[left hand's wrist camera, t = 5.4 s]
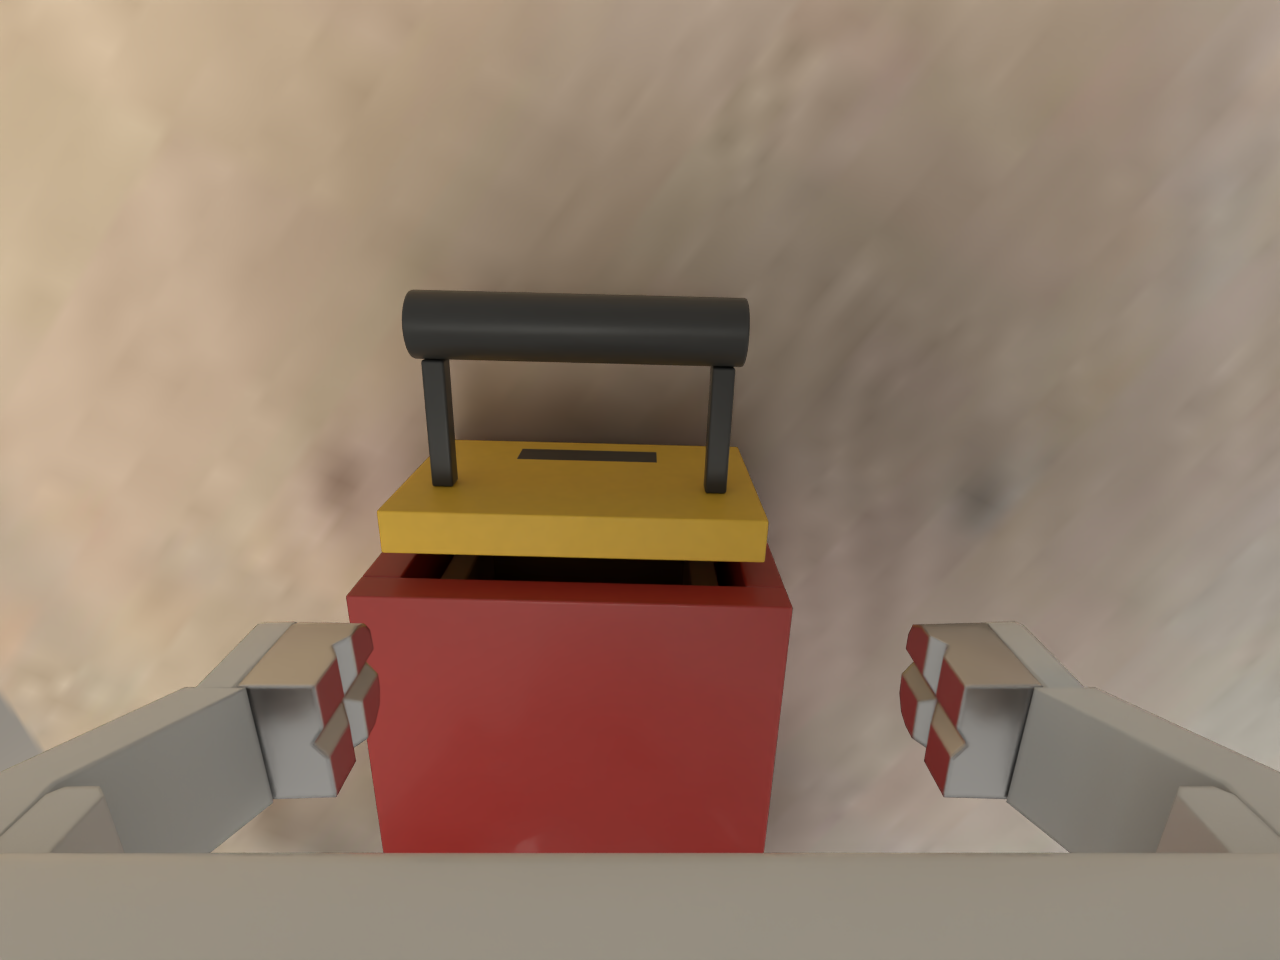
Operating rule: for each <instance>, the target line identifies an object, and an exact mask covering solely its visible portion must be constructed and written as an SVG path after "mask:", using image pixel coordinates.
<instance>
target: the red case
mask: <svg viewBox="0 0 1280 960" xmlns="http://www.w3.org/2000/svg"><path fill="white" fill-rule="evenodd" d="M454 555H455V554H418V553H383V552H382V553H381V554H380V556H379V557H378V558H377V559H376V560H375V562H374V563H373V564H372V565H371V567H370V568H369V569H368V570H367V571H366V573H365V574H364V575H363V577H362V578H361V579H360V580H359V581H358V582H357V584H356V585H355V586H354V587H353V589H352V590H351V591H350V592H349V593H348V595H347V596H346V599H347V606H348V613H349V620H350V623H364V624H365V625H366V626H367V627H368V628H369V629H370V631H371V636H372V641H373V646H374V650H373V651H372V653H371V654H370V656H369V658H368V659H367V661H366V662H367V663H368V664H369V665H370V666H371V667H372V668H373V669H374V670H375V671H376V672H377V673H378V676H379V683H380V706H379V710H378V715H377V719H376V723H375V725H374V727H373V729H372V731H371V733H370V735H369V737H368V738H367V743H368V750H369V757H370V764H371V771H372V778H373V784H374V791H375V798H376V805H377V812H378V819H379V826H380V832H381V839H382V846H383V853H764V847H765V839H766V830H767V822H768V813H769V805H770V796H771V788H772V779H773V771H774V762H775V754H776V746H777V737H778V729H779V720H780V712H781V703H782V695H783V686H784V678H785V669H786V661H787V652H788V644H789V635H790V627H791V618H792V610H793V608H792V605H791V603H790V600H789V597H788V595H787V592H786V590H785V588H784V585H783V582H782V580H781V577H780V574H779V572H778V569H777V567H776V564H775V561H774V559H773V556H772V554H771V551H770V548H769V546H768V543H767V544H766V554H765V561H764V562H729V561H714V565H715V570H716V575H717V580H718V585H719V586H698V585H659V584H620V583H581V582H542V581H503V580H465V579H440V578H441V577H442V575H443V573H444V572H445V570H446V568H447V567H448V565H449V563H450V561H451V560H452V558H453V556H454Z"/></svg>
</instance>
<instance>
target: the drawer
mask: <svg viewBox="0 0 1280 960" xmlns="http://www.w3.org/2000/svg"><path fill="white" fill-rule="evenodd" d="M402 329H403V336H404V341H405V345H406V348H407V350H408V352H409V354H410V355H411V356H412V357H413V358H416V359H424V360H422V362H421V364H422V376H423V387H424V398H425V409H426V420H427V432H428V443H429V454H430V456H429V457H428V458H427V459H426V460H425V461H424V462H423V463H422V465H421V466H420V467H419V468H418V469H417V470H416V471H415V472H414V473H413V474H412V475H411V476H410V477H409V478H408V479H407V480H406V481H405V482H404V483H403V484H402V485H401V487H400V488H399V489H398V490H397V491H396V492H395V493H394V494H393V495H392V496H391V497H390V498H389V499H388V500H387V501H386V502H385V503H384V504H383V505H382V506H381V507H380V508H379V510H378V511H377V516H378V524H379V533H380V541H381V549H382V552H383V553H418V554H455V555H454V556H453V558H452V560H451V561H450V563H449V565H448V567H447V568H446V570H445V572H444V573H443V575H442V577H441V578H440V579H465V580H503V581H542V582H581V583H620V584H659V585H698V586H719V585H718V580H717V575H716V570H715V565H714V561H729V562H764V561H765V554H766V544H767V534H768V523H769V522H768V519H767V517H766V514H765V512H764V509H763V507H762V505H761V502H760V500H759V497H758V495H757V493H756V490H755V488H754V485H753V483H752V481H751V478H750V476H749V473H748V471H747V469H746V466H745V464H744V461H743V459H742V457H741V454H740V452H739V449H738V447H730V435H731V422H732V408H733V395H734V381H735V369H734V367H742V366H743V365H744V363H745V360H746V356H747V351H748V343H749V330H750V313H749V304H748V301H747V299H745V298H718V297H679V296H639V295H600V294H561V293H522V292H483V291H443V290H411V291H409V292H408V293H407V294H406V297H405V299H404V304H403V310H402ZM449 359H454V360H493V361H532V362H571V363H610V364H649V365H688V366H711V371H710V388H709V404H708V420H707V437H706V446H676V445H637V444H598V443H559V442H520V441H481V440H455V433H454V420H453V406H452V393H451V380H450V366H449Z"/></svg>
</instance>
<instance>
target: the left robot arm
mask: <svg viewBox="0 0 1280 960" xmlns="http://www.w3.org/2000/svg"><path fill="white" fill-rule="evenodd" d="M373 650H374V646H373V641H372V636H371V631H370V629H369V628H368V627H367V626H366V625H365V624H364V623H318V622H299V623H297V622H265V623H261V624H257V625H256V626H255V628H254V629H253V630H252V631H251V632H250V633H249V634H248V635H247V636H246V637H245V638H244V639H243V640H242V641H241V642H240V643H239V644H238V645H237V646H236V647H235V648H234V649H233V650H232V651H231V652H230V653H229V654H228V655H227V656H226V657H225V658H224V659H223V660H222V661H221V662H220V663H219V664H218V665H217V666H216V667H215V668H214V669H213V670H212V671H211V672H210V673H209V674H208V675H207V676H206V677H205V678H204V680H203V681H202V682H201V683H200V684H199V685H198V686H197V687H186V688H182V689H180V690H178V691H176V692H174V693H171V694H169V695H167V696H165V697H163V698H160V699H158V700H156V701H154V702H152V703H150V704H147V705H145V706H143V707H141V708H139V709H137V710H134V711H132V712H130V713H128V714H126V715H123V716H121V717H119V718H117V719H115V720H113V721H110V722H108V723H106V724H104V725H102V726H99V727H97V728H95V729H93V730H91V731H89V732H86V733H84V734H82V735H80V736H78V737H75V738H73V739H71V740H69V741H67V742H65V743H62V744H60V745H58V746H56V747H54V748H51V749H49V750H47V751H45V752H43V753H41V754H38V755H36V756H34V757H32V758H30V759H28V760H25V761H23V762H21V763H19V764H17V765H14V766H12V767H10V768H8V769H6V770H4V771H1V772H0V960H1280V772H1278V771H1276V770H1274V769H1272V768H1269V767H1267V766H1265V765H1263V764H1261V763H1259V762H1256V761H1254V760H1252V759H1250V758H1248V757H1246V756H1243V755H1241V754H1239V753H1237V752H1235V751H1232V750H1230V749H1228V748H1226V747H1224V746H1222V745H1219V744H1217V743H1215V742H1213V741H1211V740H1209V739H1206V738H1204V737H1202V736H1200V735H1198V734H1196V733H1193V732H1191V731H1189V730H1187V729H1185V728H1182V727H1180V726H1178V725H1176V724H1174V723H1172V722H1169V721H1167V720H1165V719H1163V718H1161V717H1159V716H1156V715H1154V714H1152V713H1150V712H1148V711H1146V710H1143V709H1141V708H1139V707H1137V706H1135V705H1132V704H1130V703H1128V702H1126V701H1124V700H1122V699H1119V698H1117V697H1115V696H1113V695H1111V694H1109V693H1106V692H1104V691H1102V690H1100V689H1098V688H1095V687H1083V686H1082V685H1081V684H1080V683H1079V682H1078V680H1077V679H1076V678H1075V677H1074V676H1073V675H1072V674H1071V673H1070V672H1069V671H1068V670H1067V669H1066V668H1065V667H1064V666H1063V665H1062V664H1061V663H1060V662H1059V661H1058V660H1057V659H1056V658H1055V657H1054V656H1053V655H1052V654H1051V653H1050V652H1049V651H1048V650H1047V649H1046V648H1045V647H1044V646H1043V645H1042V644H1041V643H1040V642H1039V641H1038V640H1037V639H1036V638H1035V637H1034V636H1033V634H1032V633H1031V632H1030V631H1029V630H1028V629H1027V628H1026V627H1025V626H1024V625H1022V624H1019V623H1017V622H1014V621H1012V622H985V623H956V624H917V625H913V626H912V628H911V630H910V632H909V634H908V640H907V645H906V650H907V651H908V653H909V654H910V656H911V658H912V659H913V661H914V662H913V663H912V664H911V665H910V666H909V667H908V668H907V669H906V670H905V671H904V672H903V673H902V677H901V685H900V704H901V713H902V716H903V719H904V722H905V725H906V727H907V729H908V731H909V733H910V735H911V737H912V738H913V739H914V740H916V741H917V742H918V743H920V744H921V745H923V746H924V747H926V753H925V759H924V762H925V763H926V765H927V767H928V769H929V771H930V773H931V775H932V776H933V778H934V780H935V782H936V784H937V786H938V787H939V789H940V791H941V793H942V795H943V797H955V798H991V799H1007V801H1006V802H1007V803H1009V804H1010V805H1011V806H1012V807H1014V808H1015V809H1016V810H1017V811H1019V812H1020V813H1021V814H1022V815H1024V816H1025V817H1026V818H1027V819H1029V820H1030V821H1031V822H1032V823H1034V824H1035V825H1036V826H1037V827H1038V828H1040V829H1041V830H1042V831H1043V832H1045V833H1046V834H1047V835H1048V836H1050V837H1051V838H1052V839H1053V840H1055V841H1056V842H1057V843H1058V844H1060V845H1061V846H1062V847H1063V848H1065V849H1066V850H1067V851H1068V852H1070V853H210V852H212V851H213V850H214V849H215V848H217V847H218V846H219V845H220V844H222V843H223V842H224V841H225V840H227V839H228V838H229V837H230V836H232V835H233V834H234V833H235V832H237V831H238V830H239V829H240V828H242V827H243V826H244V825H245V824H247V823H248V822H249V821H251V820H252V819H253V818H254V817H256V816H257V815H258V814H259V813H261V812H262V811H263V810H264V809H266V808H267V807H268V806H269V805H271V804H272V803H273V799H289V798H323V797H337V795H338V793H339V791H340V789H341V787H342V786H343V784H344V782H345V780H346V778H347V776H348V775H349V773H350V771H351V769H352V767H353V765H354V763H355V762H356V759H355V753H354V747H356V746H357V745H359V744H360V743H362V742H363V741H364V740H366V739H367V738H368V737H369V735H370V733H371V731H372V729H373V727H374V725H375V723H376V719H377V715H378V710H379V706H380V683H379V676H378V673H377V672H376V671H375V670H374V669H373V668H372V667H371V666H370V665H369V664H368V663H367V662H366V661H367V659H368V658H369V656H370V654H371V653H372V651H373Z"/></svg>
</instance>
